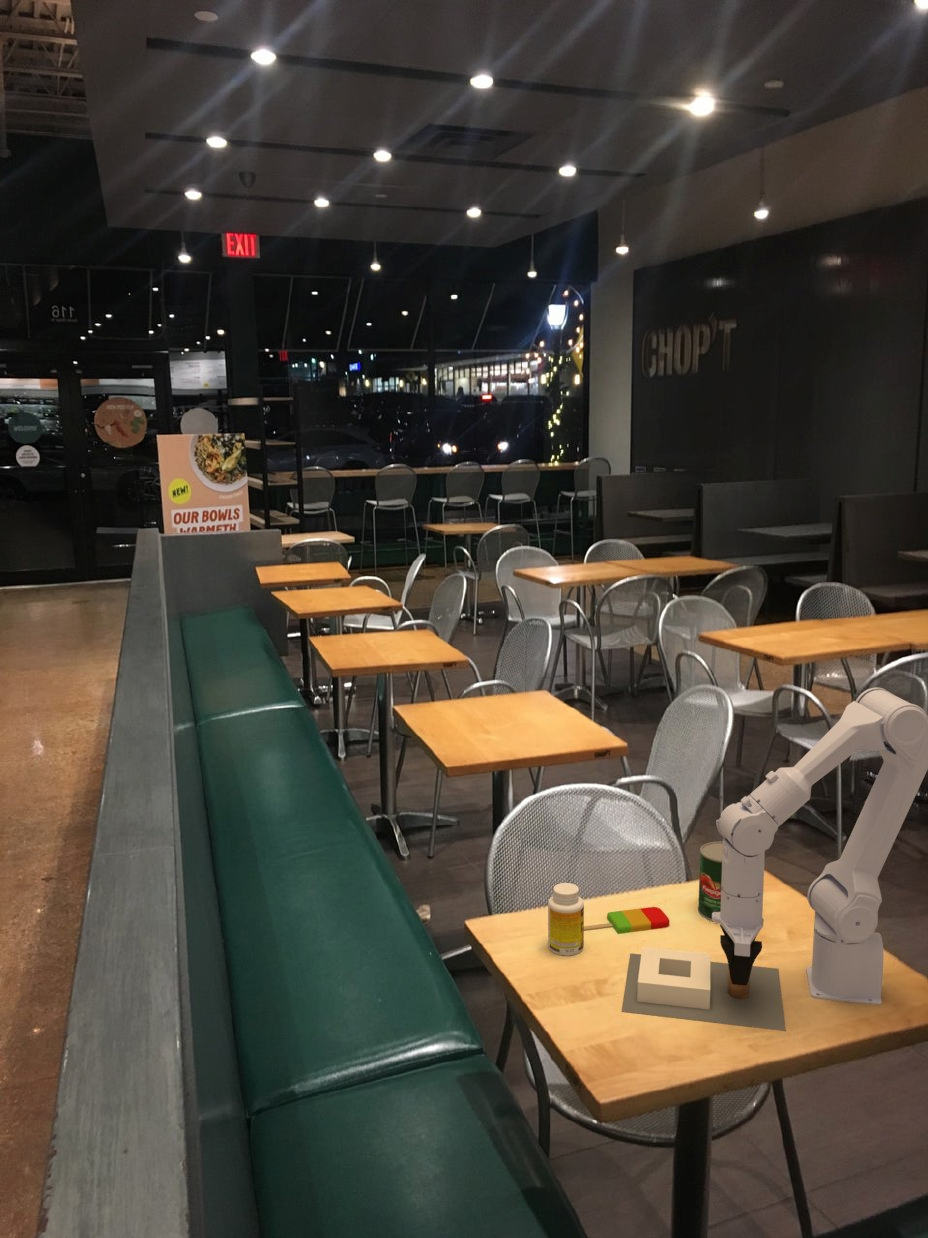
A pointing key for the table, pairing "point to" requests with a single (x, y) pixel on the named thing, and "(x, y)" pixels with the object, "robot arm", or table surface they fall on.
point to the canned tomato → (710, 879)
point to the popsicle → (634, 920)
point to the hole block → (674, 978)
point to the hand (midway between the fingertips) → (738, 977)
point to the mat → (718, 999)
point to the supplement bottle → (566, 920)
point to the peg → (738, 989)
